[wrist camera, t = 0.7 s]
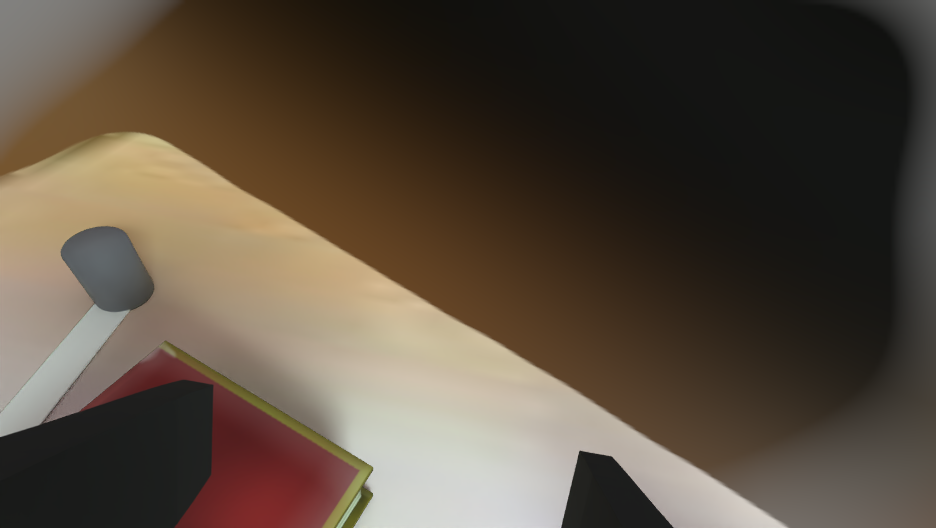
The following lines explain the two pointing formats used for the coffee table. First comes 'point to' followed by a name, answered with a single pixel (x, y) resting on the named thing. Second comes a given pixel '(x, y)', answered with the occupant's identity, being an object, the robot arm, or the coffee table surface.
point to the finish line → (83, 320)
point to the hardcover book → (256, 456)
